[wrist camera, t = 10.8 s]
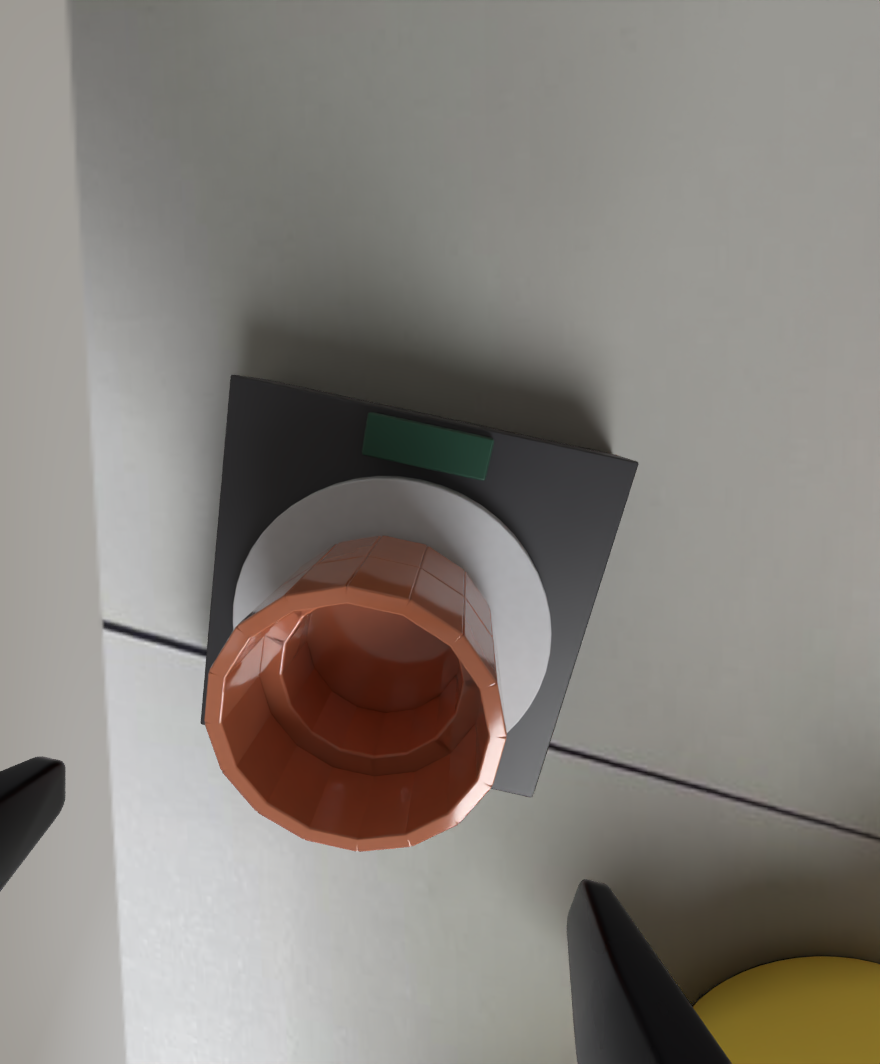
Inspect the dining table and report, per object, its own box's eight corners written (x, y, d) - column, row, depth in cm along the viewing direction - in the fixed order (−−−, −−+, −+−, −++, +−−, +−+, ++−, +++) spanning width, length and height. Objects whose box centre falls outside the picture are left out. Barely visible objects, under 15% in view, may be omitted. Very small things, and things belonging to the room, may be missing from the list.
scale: (234, 684, 19) (189, 735, 16) (266, 379, 16) (219, 372, 13) (524, 749, 19) (534, 812, 16) (613, 454, 16) (647, 464, 13)
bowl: (272, 702, 16) (194, 816, 11) (297, 510, 14) (217, 557, 9) (468, 746, 15) (467, 877, 11) (517, 558, 14) (539, 627, 9)
